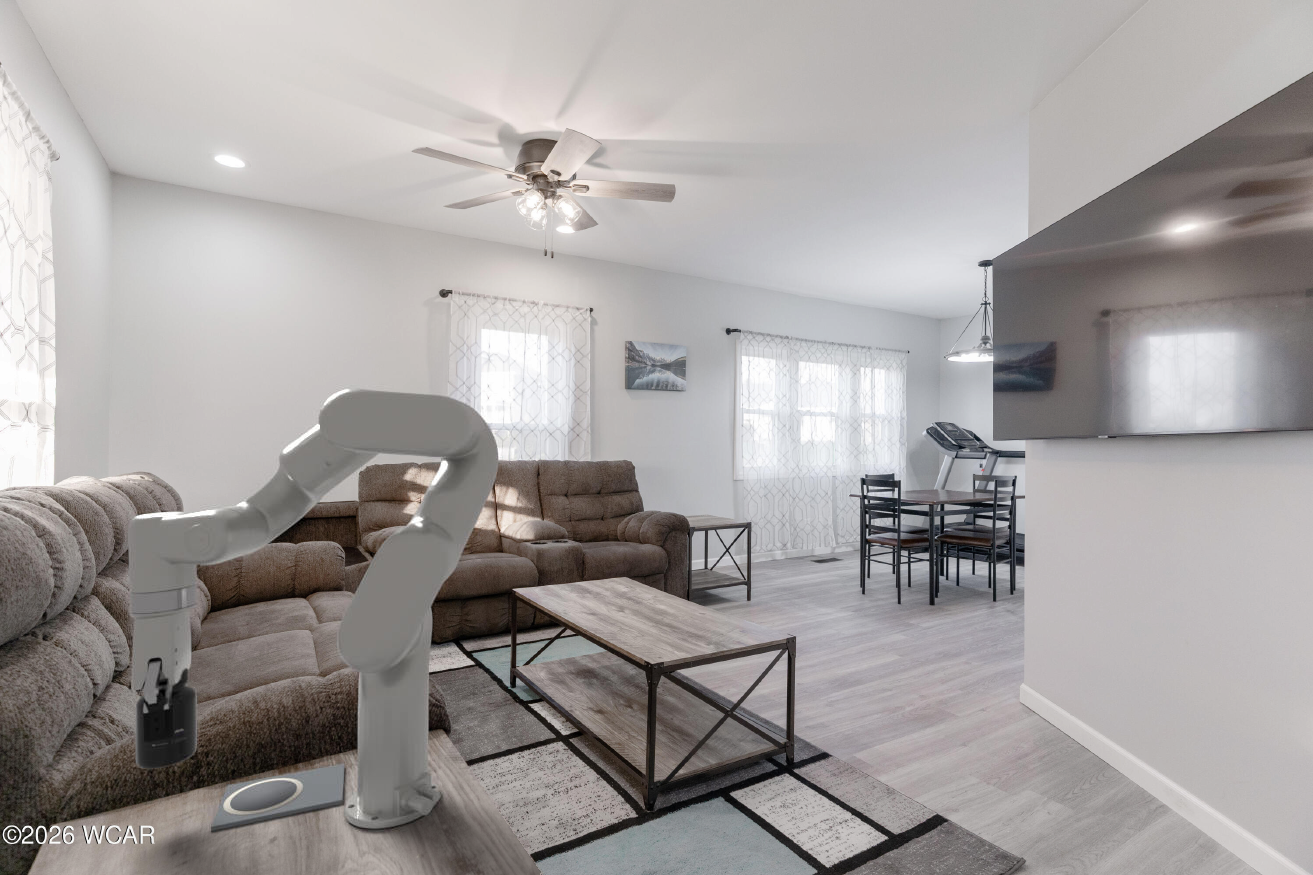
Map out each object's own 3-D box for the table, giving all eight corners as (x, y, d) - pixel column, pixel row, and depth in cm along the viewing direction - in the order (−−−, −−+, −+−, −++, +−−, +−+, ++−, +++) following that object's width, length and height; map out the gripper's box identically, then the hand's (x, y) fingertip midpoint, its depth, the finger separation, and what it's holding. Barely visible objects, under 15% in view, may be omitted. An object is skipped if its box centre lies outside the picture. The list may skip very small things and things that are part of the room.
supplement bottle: (164, 772, 85) (162, 681, 85) (122, 769, 87) (120, 680, 87) (209, 748, 92) (207, 664, 92) (170, 745, 93) (168, 663, 94)
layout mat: (344, 767, 104) (344, 762, 104) (342, 803, 93) (342, 798, 93) (227, 788, 97) (227, 783, 97) (210, 831, 86) (210, 825, 86)
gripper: (149, 592, 96) (152, 712, 96) (108, 618, 80) (111, 761, 80) (209, 586, 99) (212, 702, 99) (181, 609, 83) (184, 747, 83)
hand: (167, 727), depth 89 cm, fingers closed on supplement bottle, 6 cm apart
